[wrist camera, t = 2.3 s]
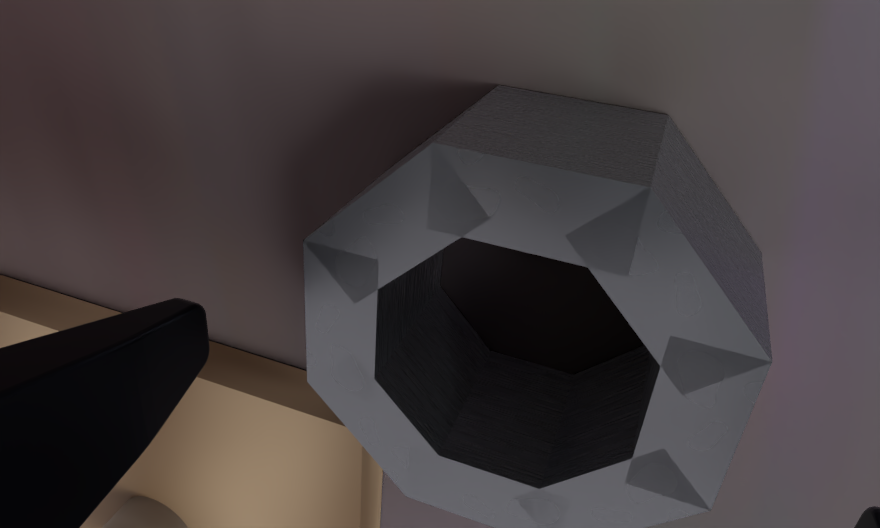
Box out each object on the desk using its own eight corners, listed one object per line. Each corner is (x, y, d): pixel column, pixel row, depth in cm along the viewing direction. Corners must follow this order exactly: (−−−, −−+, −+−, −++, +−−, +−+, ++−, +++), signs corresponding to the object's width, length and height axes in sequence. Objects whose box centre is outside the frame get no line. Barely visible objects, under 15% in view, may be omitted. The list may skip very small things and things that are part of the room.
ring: (803, 138, 10) (830, 223, 7) (686, 458, 13) (676, 592, 11) (391, 65, 11) (298, 115, 9) (379, 365, 15) (309, 462, 12)
